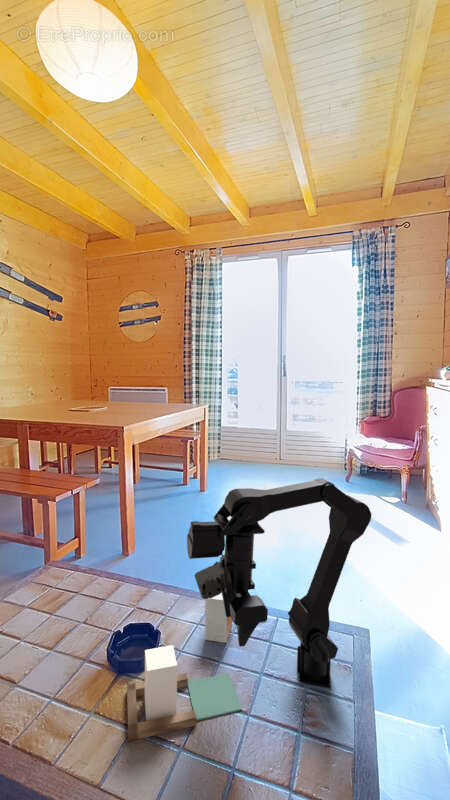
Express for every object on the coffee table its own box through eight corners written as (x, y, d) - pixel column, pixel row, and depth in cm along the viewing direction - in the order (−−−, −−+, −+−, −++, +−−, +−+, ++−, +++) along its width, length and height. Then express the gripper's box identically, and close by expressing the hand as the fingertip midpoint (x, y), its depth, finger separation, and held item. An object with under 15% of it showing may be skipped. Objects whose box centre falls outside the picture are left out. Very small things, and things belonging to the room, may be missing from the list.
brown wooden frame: (186, 679, 77) (186, 673, 77) (196, 725, 67) (196, 717, 67) (127, 691, 74) (127, 684, 74) (128, 741, 64) (128, 733, 64)
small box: (226, 644, 88) (227, 601, 88) (204, 640, 90) (205, 598, 89) (232, 623, 96) (233, 583, 96) (212, 620, 97) (212, 581, 97)
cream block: (172, 693, 74) (173, 645, 74) (176, 717, 69) (177, 665, 68) (144, 699, 72) (145, 649, 72) (146, 724, 67) (147, 671, 67)
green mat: (228, 674, 79) (228, 673, 79) (241, 710, 70) (241, 708, 70) (187, 683, 77) (187, 681, 77) (195, 721, 68) (195, 719, 68)
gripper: (190, 537, 81) (187, 607, 81) (210, 581, 63) (205, 671, 63) (239, 534, 84) (235, 602, 84) (271, 576, 66) (266, 661, 66)
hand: (234, 630), depth 74 cm, fingers open, 9 cm apart
